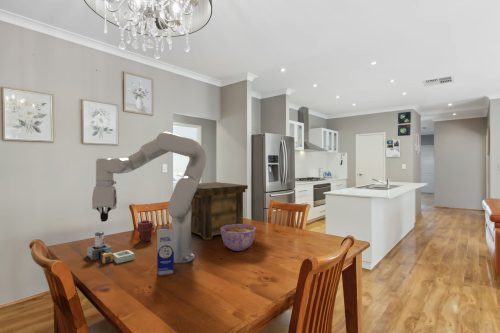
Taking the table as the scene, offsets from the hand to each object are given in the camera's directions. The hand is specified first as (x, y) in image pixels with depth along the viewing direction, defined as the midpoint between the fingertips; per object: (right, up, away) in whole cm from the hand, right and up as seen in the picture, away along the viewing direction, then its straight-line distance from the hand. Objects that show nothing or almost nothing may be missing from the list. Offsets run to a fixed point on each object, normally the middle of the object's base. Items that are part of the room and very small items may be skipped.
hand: (104, 220), depth 130 cm
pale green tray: (+8, -20, +3) cm, 21 cm away
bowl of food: (+65, -20, +20) cm, 70 cm away
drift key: (-1, -20, +2) cm, 20 cm away
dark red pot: (+7, -19, +34) cm, 40 cm away
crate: (+45, -19, +54) cm, 73 cm away
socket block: (-7, -20, +8) cm, 22 cm away
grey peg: (-7, -20, +8) cm, 22 cm away
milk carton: (+34, -20, -12) cm, 41 cm away
